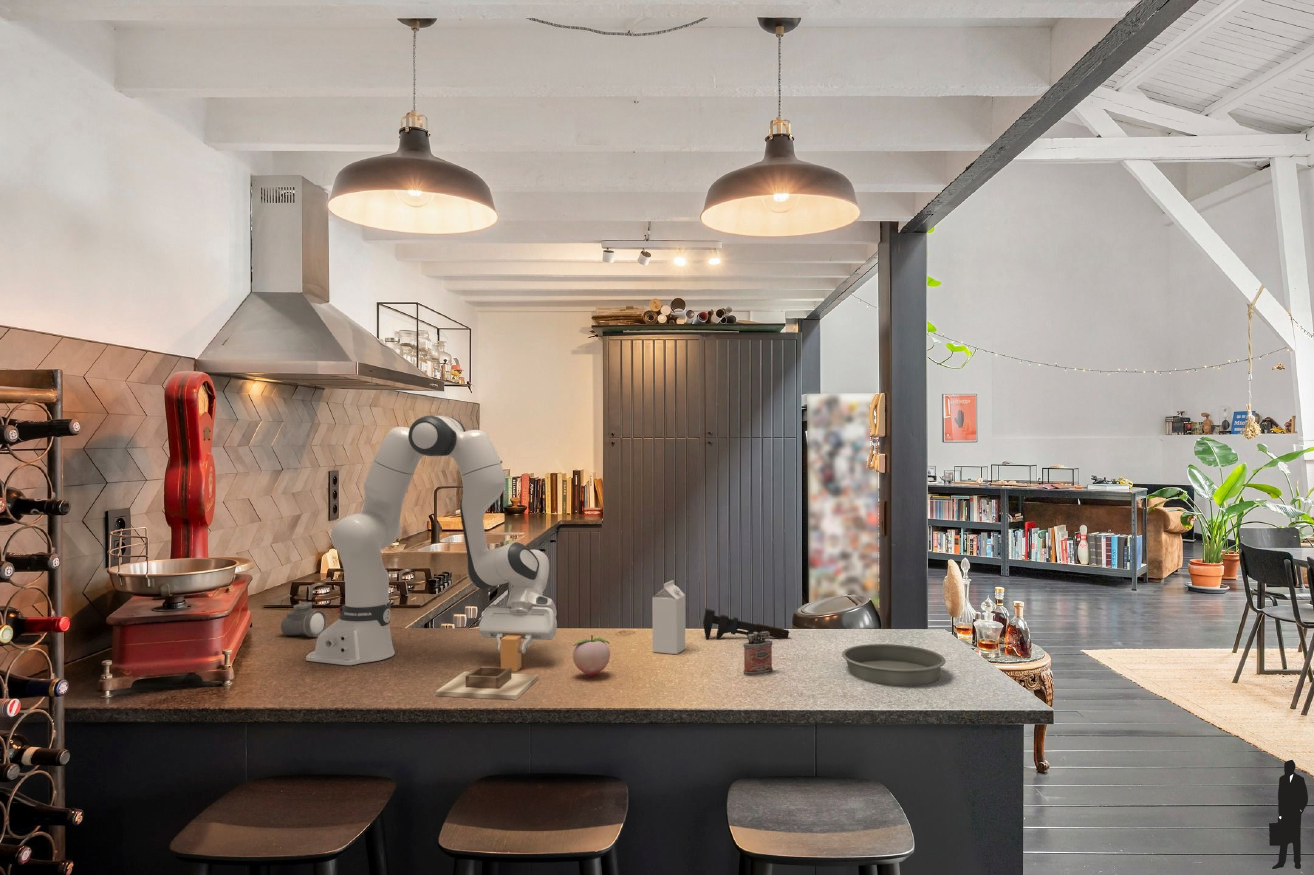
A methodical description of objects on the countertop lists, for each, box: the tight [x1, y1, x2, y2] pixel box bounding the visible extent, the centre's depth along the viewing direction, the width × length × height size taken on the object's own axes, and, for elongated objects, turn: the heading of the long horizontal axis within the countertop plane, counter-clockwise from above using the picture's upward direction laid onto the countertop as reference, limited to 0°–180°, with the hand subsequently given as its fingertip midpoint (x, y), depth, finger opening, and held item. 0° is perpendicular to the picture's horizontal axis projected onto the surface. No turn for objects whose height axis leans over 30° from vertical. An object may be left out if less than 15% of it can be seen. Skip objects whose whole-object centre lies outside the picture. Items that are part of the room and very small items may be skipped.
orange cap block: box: [500, 635, 522, 673], centre depth 194 cm, size 4×4×8 cm
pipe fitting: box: [280, 601, 328, 638], centre depth 231 cm, size 12×8×10 cm
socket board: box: [435, 666, 540, 701], centre depth 179 cm, size 19×16×4 cm
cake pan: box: [841, 643, 946, 687], centre depth 190 cm, size 25×25×4 cm
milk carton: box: [651, 579, 686, 655], centre depth 212 cm, size 7×7×19 cm
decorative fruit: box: [572, 634, 611, 677], centre depth 187 cm, size 9×8×10 cm
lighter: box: [742, 631, 774, 677], centre depth 190 cm, size 8×3×10 cm, turn 117°
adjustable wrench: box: [702, 608, 790, 641], centre depth 225 cm, size 8×3×25 cm
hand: (510, 651), depth 194 cm, fingers closed on orange cap block, 4 cm apart
